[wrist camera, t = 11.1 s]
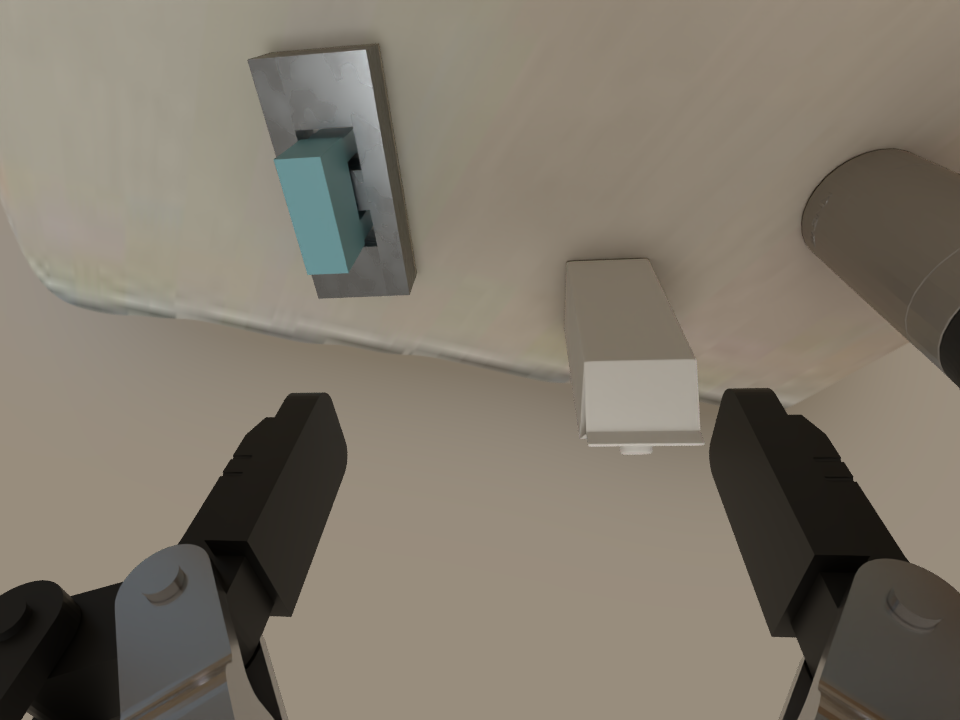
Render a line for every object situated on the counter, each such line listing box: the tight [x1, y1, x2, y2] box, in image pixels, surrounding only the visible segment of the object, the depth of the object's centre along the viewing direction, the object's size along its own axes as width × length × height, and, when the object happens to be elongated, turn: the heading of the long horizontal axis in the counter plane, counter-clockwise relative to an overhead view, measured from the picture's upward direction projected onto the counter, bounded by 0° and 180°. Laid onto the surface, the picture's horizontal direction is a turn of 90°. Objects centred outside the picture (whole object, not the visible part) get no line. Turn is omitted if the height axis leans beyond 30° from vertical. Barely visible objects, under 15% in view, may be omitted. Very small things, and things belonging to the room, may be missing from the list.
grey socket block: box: [248, 43, 417, 298], centre depth 41 cm, size 18×8×4 cm, turn 4°
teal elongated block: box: [274, 127, 373, 275], centre depth 38 cm, size 8×3×9 cm, turn 4°
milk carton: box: [564, 259, 705, 455], centre depth 40 cm, size 7×7×19 cm
